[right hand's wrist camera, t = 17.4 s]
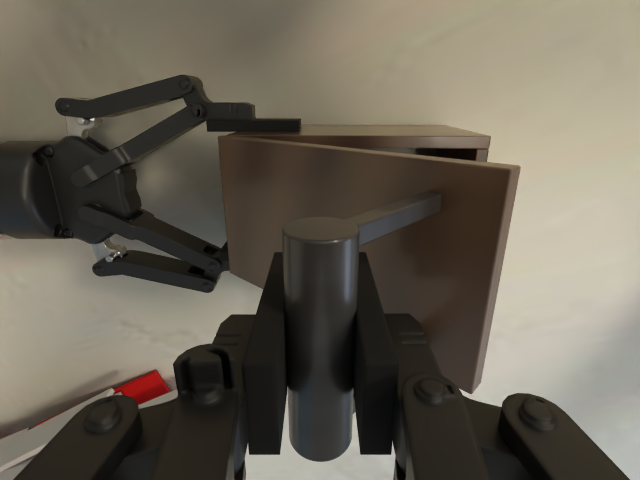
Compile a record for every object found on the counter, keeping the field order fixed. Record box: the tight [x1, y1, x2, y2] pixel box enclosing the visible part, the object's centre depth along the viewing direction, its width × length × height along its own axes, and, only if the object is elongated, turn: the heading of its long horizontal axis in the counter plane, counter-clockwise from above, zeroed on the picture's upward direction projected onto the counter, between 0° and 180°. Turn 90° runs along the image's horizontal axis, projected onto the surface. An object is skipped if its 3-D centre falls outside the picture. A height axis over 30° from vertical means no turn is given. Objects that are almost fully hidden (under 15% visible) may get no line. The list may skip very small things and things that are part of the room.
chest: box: [227, 125, 491, 162], centre depth 30 cm, size 17×9×10 cm, turn 90°
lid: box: [218, 135, 520, 462], centre depth 17 cm, size 17×9×8 cm
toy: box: [0, 370, 178, 480], centre depth 41 cm, size 12×13×30 cm
